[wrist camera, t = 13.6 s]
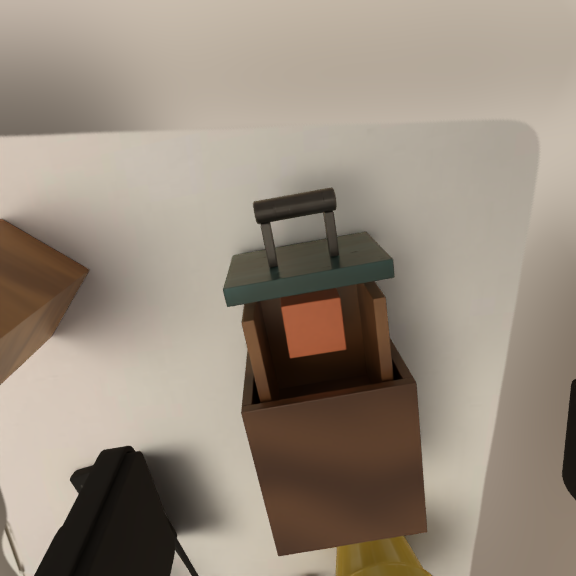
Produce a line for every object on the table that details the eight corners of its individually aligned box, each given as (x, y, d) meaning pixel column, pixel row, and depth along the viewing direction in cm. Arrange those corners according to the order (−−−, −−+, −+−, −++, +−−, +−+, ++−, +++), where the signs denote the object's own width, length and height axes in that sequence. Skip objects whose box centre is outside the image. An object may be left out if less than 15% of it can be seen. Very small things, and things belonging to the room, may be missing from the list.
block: (279, 285, 31) (280, 306, 28) (332, 277, 31) (340, 297, 27) (287, 332, 33) (289, 359, 29) (338, 325, 33) (346, 349, 29)
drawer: (219, 198, 30) (204, 218, 23) (360, 172, 30) (386, 184, 23) (264, 392, 36) (262, 452, 29) (381, 371, 36) (407, 428, 29)
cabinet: (247, 345, 35) (240, 412, 27) (381, 322, 35) (416, 382, 26) (276, 467, 40) (278, 556, 31) (394, 448, 40) (427, 532, 31)
